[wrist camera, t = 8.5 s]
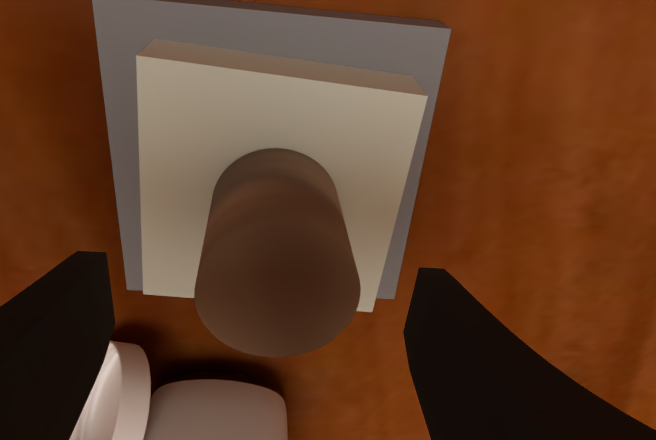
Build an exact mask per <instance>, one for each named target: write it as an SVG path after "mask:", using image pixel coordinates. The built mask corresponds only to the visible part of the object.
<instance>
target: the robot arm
mask: <svg viewBox="0 0 656 440" xmlns="http://www.w3.org/2000/svg"><path fill="white" fill-rule="evenodd" d="M114 325H115V317H114V309H113V302H112V294H111V286H110V278H109V270H108V263H107V255H106V252H85V251H77V252H76V253H74V254H73V255H71V256H70V257H68V258H67V259H66V260H64V261H63V262H61V263H60V264H59V265H57V266H56V267H55V268H53V269H52V270H51V271H49V272H48V273H47V274H45V275H44V276H43V277H41V278H40V279H39V280H37V281H36V282H34V283H33V284H32V285H30V286H29V287H27V288H26V289H25V290H23V291H22V292H21V293H19V294H18V295H16V296H15V297H14V298H12V299H11V300H9V301H8V302H7V303H5V304H4V305H2V306H1V307H0V440H69V439H70V437H71V435H72V432H73V430H74V428H75V426H76V424H77V421H78V419H79V417H80V415H81V412H82V410H83V408H84V406H85V404H86V401H87V399H88V397H89V395H90V392H91V390H92V388H93V386H94V383H95V381H96V379H97V377H98V374H99V372H100V370H101V367H102V365H103V363H104V359H105V356H106V353H107V350H108V346H109V343H110V339H111V336H112V332H113V329H114ZM403 333H404V339H405V345H406V352H407V357H408V363H409V368H410V372H411V376H412V379H413V382H414V386H415V389H416V392H417V395H418V399H419V402H420V405H421V408H422V412H423V415H424V418H425V421H426V424H427V428H428V431H429V434H430V437H431V440H656V430H654V429H652V428H650V427H648V426H647V425H645V424H643V423H641V422H640V421H638V420H636V419H634V418H632V417H631V416H629V415H627V414H625V413H624V412H622V411H621V410H619V409H617V408H616V407H614V406H612V405H611V404H609V403H608V402H606V401H604V400H603V399H601V398H599V397H598V396H596V395H595V394H593V393H592V392H590V391H589V390H587V389H586V388H584V387H583V386H581V385H579V384H578V383H577V382H575V381H574V380H572V379H571V378H570V377H568V376H567V375H565V374H564V373H563V372H561V371H560V370H558V369H557V368H556V367H554V366H553V365H551V364H550V363H549V362H548V361H546V360H545V359H544V358H542V357H541V356H540V355H539V354H537V353H536V352H535V351H534V350H532V349H531V348H530V347H529V346H528V345H526V344H525V343H524V342H523V341H522V340H520V339H519V338H518V337H517V336H516V335H514V334H513V333H512V332H511V331H510V330H509V329H508V328H506V327H505V326H504V325H503V324H502V323H501V322H500V321H499V320H498V319H496V318H495V317H494V316H493V315H492V314H491V313H490V312H489V311H488V310H487V309H486V308H485V307H484V306H483V305H482V304H480V303H479V302H478V301H477V300H476V299H475V298H474V297H473V296H472V295H471V294H470V293H469V292H468V291H467V290H466V289H465V288H464V287H463V286H462V285H461V284H460V283H459V282H458V281H457V280H456V279H455V278H453V277H452V276H451V275H450V274H449V273H448V272H447V271H446V270H445V269H438V268H419V270H418V274H417V278H416V283H415V287H414V291H413V295H412V299H411V303H410V307H409V311H408V315H407V319H406V323H405V328H404V332H403Z"/></svg>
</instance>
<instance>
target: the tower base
mask: <svg viewBox="0 0 656 440" xmlns="http://www.w3.org/2000/svg"><path fill="white" fill-rule="evenodd" d="M92 4H93V13H94V21H95V29H96V37H97V46H98V54H99V62H100V70H101V79H102V87H103V95H104V103H105V112H106V120H107V128H108V136H109V145H110V153H111V161H112V169H113V178H114V186H115V194H116V202H117V211H118V219H119V227H120V235H121V244H122V252H123V260H124V268H125V277H126V285H127V290H143V272H142V238H141V205H140V171H139V137H138V103H137V69H136V55H137V54H138V53H139V52H140V51H142V50H143V49H144V48H145V47H146V46H147V45H148V44H149V43H151V42H152V41H153V40H154V39H162V40H169V41H176V42H183V43H190V44H197V45H204V46H211V47H218V48H225V49H232V50H238V51H245V52H252V53H259V54H266V55H273V56H280V57H287V58H294V59H301V60H308V61H315V62H321V63H328V64H335V65H342V66H349V67H356V68H363V69H370V70H377V71H384V72H391V73H397V74H404V75H411V76H412V77H413V78H414V79H415V80H416V82H417V83H418V84H419V85H420V87H421V88H422V89H423V90H424V92H425V93H426V94H427V96H428V98H427V102H426V106H425V110H424V113H423V117H422V121H421V125H420V129H419V133H418V137H417V141H416V144H415V148H414V152H413V156H412V160H411V164H410V168H409V172H408V175H407V179H406V183H405V187H404V191H403V195H402V199H401V203H400V206H399V210H398V214H397V218H396V222H395V226H394V230H393V233H392V237H391V241H390V245H389V249H388V253H387V257H386V261H385V264H384V268H383V272H382V276H381V280H380V284H379V288H378V292H377V295H376V298H381V299H394V298H395V293H396V288H397V284H398V279H399V274H400V269H401V265H402V260H403V255H404V251H405V246H406V241H407V236H408V232H409V227H410V222H411V217H412V213H413V208H414V203H415V198H416V194H417V189H418V184H419V180H420V175H421V170H422V165H423V161H424V156H425V151H426V146H427V142H428V137H429V132H430V127H431V123H432V118H433V113H434V109H435V104H436V99H437V94H438V90H439V85H440V80H441V75H442V71H443V66H444V61H445V56H446V52H447V47H448V42H449V37H450V33H451V28H449V27H448V26H446V25H445V24H443V23H441V22H440V21H435V20H425V19H414V18H404V17H394V16H384V15H374V14H363V13H353V12H343V11H333V10H322V9H312V8H302V7H292V6H281V5H271V4H261V3H251V2H240V1H230V0H92Z"/></svg>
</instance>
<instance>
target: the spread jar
mask: <svg viewBox="0 0 656 440" xmlns="http://www.w3.org/2000/svg"><path fill="white" fill-rule="evenodd" d="M150 397H151V377H150V368H149V363H148V359H147V357H146V354H145V352H144V350H143V349H142V348H141V347H140V346H139V345H136V344H131V343H124V342H117V341H110V343H109V346H108V350H107V353H106V356H105V359H104V363H103V365H102V367H101V370H100V372H99V374H98V377H97V379H96V381H95V383H94V386H93V388H92V390H91V392H90V395H89V397H88V399H87V401H86V404H85V406H84V408H83V410H82V412H81V415H80V417H79V419H78V421H77V424H76V426H75V428H74V430H73V432H72V435H71V437H70V439H69V440H288V428H287V412H286V405H285V402H284V399H283V397H282V395H281V394H280V393H279V392H278V390H276V389H275V388H273V387H272V386H271V385H269V384H267V383H265V382H262V381H260V380H257V379H254V378H251V377H248V376H244V375H240V374H234V373H227V372H202V373H195V374H189V375H184V376H180V377H176V378H173V379H171V380H169V381H167V382H165V383H163V384H162V385H160V386H159V388H158V389H157V390H156V391H155V392H154V394H153V395H152V398H151V400H150Z"/></svg>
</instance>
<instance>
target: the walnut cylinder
mask: <svg viewBox="0 0 656 440" xmlns="http://www.w3.org/2000/svg"><path fill="white" fill-rule="evenodd" d="M360 291H361V287H360V279H359V275H358V271H357V267H356V264H355V260H354V256H353V252H352V248H351V245H350V241H349V237H348V233H347V229H346V225H345V222H344V218H343V214H342V210H341V206H340V202H339V199H338V195H337V191H336V188H335V185H334V183H333V180H332V179H331V177H330V176H329V174H328V173H327V171H326V170H325V169H324V168H323V167H322V166H321V165H320V164H319V163H318V162H316V161H315V160H313V159H312V158H310V157H308V156H306V155H304V154H302V153H299V152H297V151H293V150H289V149H281V148H268V149H262V150H257V151H254V152H251V153H248V154H246V155H244V156H242V157H240V158H239V159H237V160H235V161H234V162H233V163H232V164H230V165H229V166H228V167H227V168H226V169H225V170H224V172H223V173H222V174H221V176H220V177H219V179H218V181H217V183H216V185H215V188H214V191H213V195H212V201H211V206H210V211H209V216H208V221H207V226H206V232H205V237H204V242H203V247H202V252H201V257H200V262H199V268H198V273H197V278H196V283H195V289H194V299H195V306H196V309H197V312H198V315H199V317H200V319H201V321H202V322H203V324H204V325H205V327H206V328H207V329H208V330H209V331H210V332H211V333H212V335H213V336H215V337H216V338H217V339H218V340H220V341H221V342H222V343H224V344H226V345H227V346H229V347H231V348H233V349H235V350H238V351H240V352H243V353H246V354H251V355H255V356H261V357H288V356H294V355H299V354H303V353H306V352H309V351H312V350H314V349H317V348H319V347H321V346H323V345H325V344H326V343H328V342H329V341H331V340H332V339H334V338H335V337H336V336H337V335H339V334H340V333H341V332H342V331H343V330H344V329H345V328H346V326H347V325H348V324H349V322H350V321H351V320H352V318H353V316H354V314H355V312H356V310H357V307H358V304H359V300H360Z"/></svg>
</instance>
